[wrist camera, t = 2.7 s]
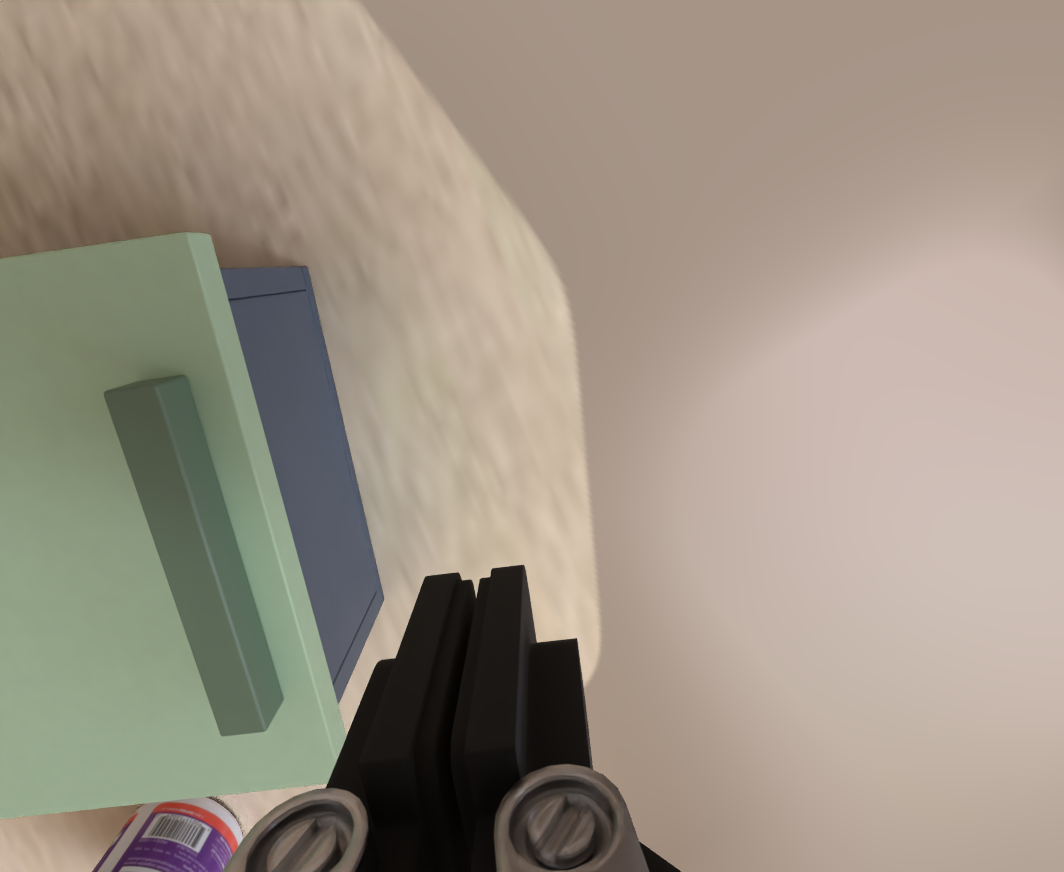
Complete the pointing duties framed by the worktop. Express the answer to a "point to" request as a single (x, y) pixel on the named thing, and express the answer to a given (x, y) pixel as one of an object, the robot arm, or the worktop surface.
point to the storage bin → (309, 455)
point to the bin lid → (144, 544)
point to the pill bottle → (174, 838)
